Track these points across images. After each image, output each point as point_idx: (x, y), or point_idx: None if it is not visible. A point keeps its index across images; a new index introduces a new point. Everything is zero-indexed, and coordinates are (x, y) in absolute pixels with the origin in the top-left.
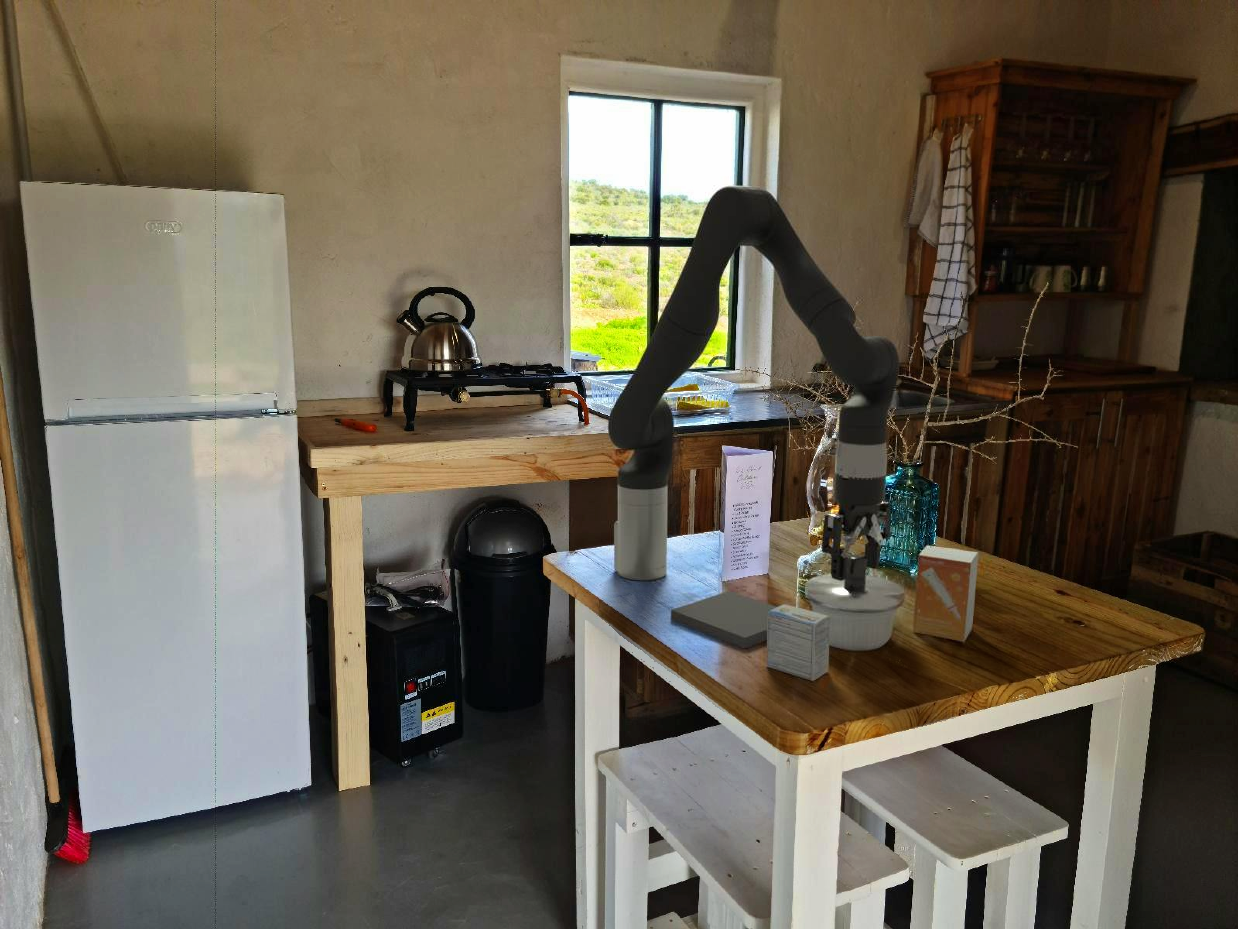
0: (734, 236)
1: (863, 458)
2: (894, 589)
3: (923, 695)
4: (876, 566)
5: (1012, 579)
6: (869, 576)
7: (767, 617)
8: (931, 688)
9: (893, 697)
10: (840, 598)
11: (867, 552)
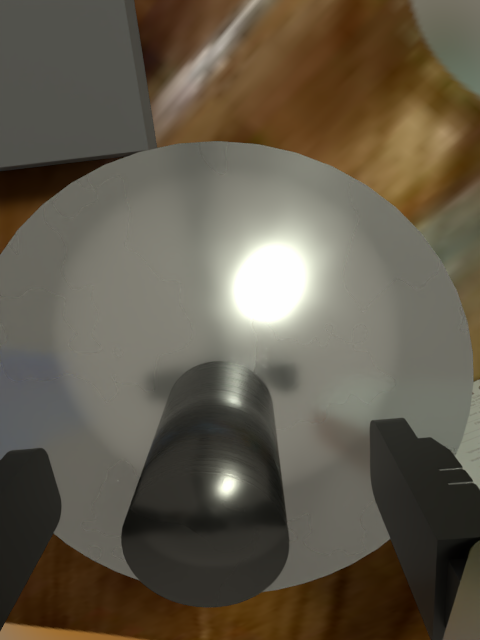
0: None
1: None
2: (362, 514)
3: (105, 617)
4: (378, 503)
5: None
6: (448, 330)
7: (2, 67)
8: (148, 609)
9: (41, 594)
10: (55, 461)
11: (404, 504)
